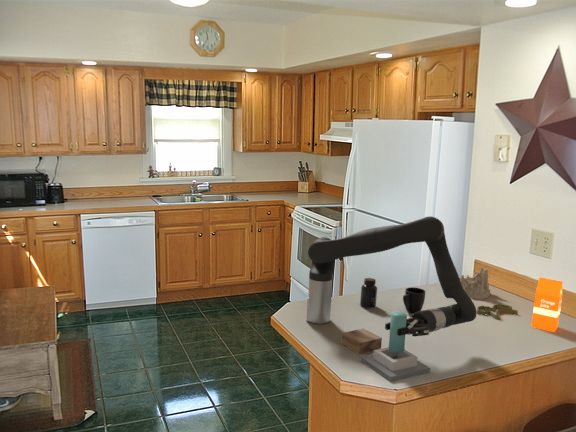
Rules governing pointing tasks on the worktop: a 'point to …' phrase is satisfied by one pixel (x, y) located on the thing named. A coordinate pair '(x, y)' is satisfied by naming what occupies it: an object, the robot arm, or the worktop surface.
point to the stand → (361, 341)
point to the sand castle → (476, 284)
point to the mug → (414, 299)
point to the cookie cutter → (500, 309)
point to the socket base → (394, 364)
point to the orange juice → (547, 304)
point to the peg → (396, 322)
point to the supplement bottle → (368, 293)
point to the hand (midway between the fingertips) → (392, 329)
